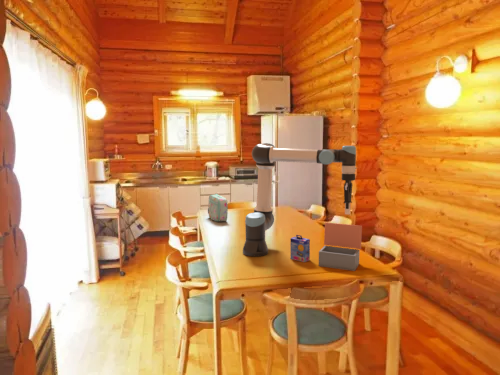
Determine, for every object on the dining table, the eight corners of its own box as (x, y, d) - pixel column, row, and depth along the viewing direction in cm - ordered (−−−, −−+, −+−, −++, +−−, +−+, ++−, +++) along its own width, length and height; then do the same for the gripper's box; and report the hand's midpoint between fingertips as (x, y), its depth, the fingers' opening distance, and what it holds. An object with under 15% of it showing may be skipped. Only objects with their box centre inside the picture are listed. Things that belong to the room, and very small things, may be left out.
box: (318, 265, 203) (318, 251, 202) (324, 259, 214) (324, 245, 213) (354, 271, 195) (355, 255, 194) (359, 264, 206) (359, 249, 204)
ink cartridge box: (289, 259, 215) (289, 234, 213) (295, 256, 219) (295, 232, 217) (304, 262, 209) (305, 236, 207) (310, 260, 213) (310, 234, 211)
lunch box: (206, 217, 329) (206, 193, 326) (217, 216, 334) (217, 192, 331) (217, 223, 305) (216, 197, 302) (229, 222, 309) (228, 196, 307)
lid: (325, 222, 213) (325, 222, 214) (324, 244, 213) (324, 244, 214) (361, 225, 204) (362, 225, 205) (360, 249, 205) (360, 248, 206)
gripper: (353, 174, 208) (351, 216, 211) (357, 172, 219) (356, 212, 222) (339, 173, 211) (338, 215, 214) (344, 171, 222) (343, 211, 226)
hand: (347, 214), depth 218 cm, fingers closed
